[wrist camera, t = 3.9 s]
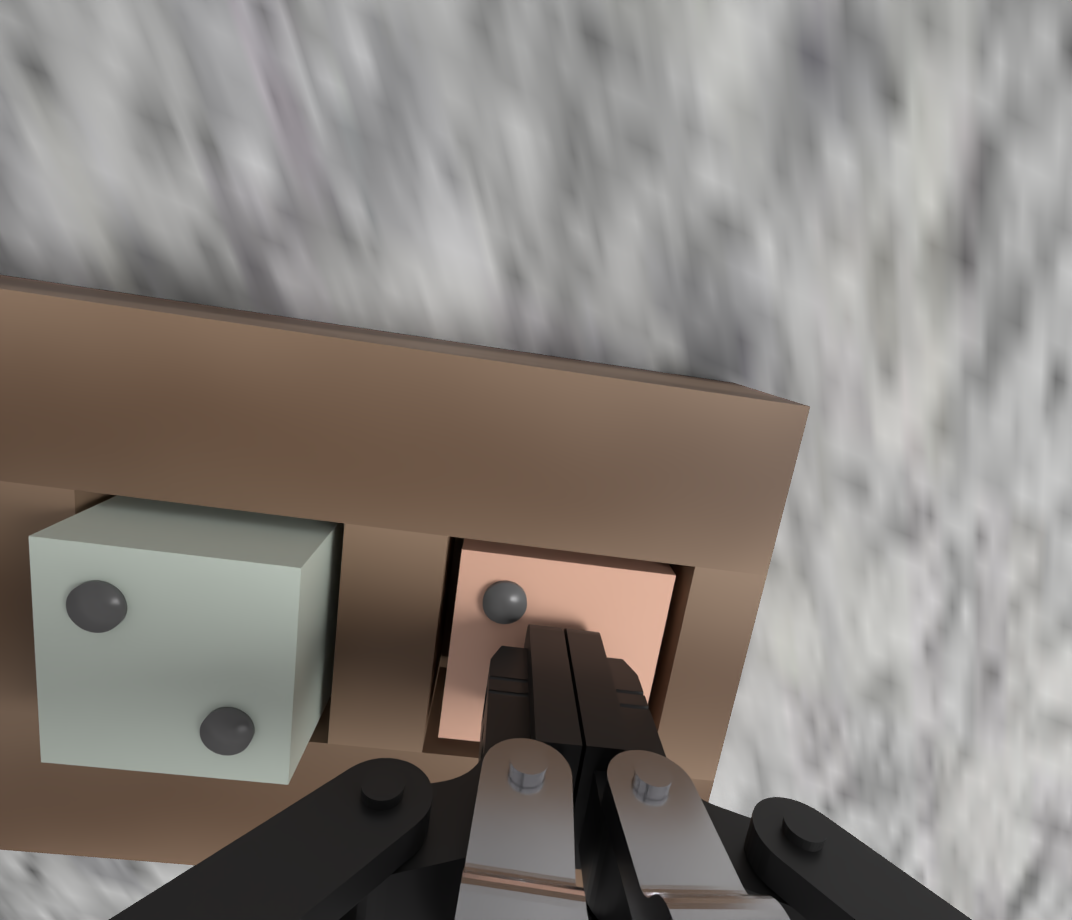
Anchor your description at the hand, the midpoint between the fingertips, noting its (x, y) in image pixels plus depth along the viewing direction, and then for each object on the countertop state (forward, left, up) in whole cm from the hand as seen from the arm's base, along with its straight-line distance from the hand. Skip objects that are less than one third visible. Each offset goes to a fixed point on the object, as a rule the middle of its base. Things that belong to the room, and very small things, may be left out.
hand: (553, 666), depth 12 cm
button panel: (0, -7, -4) cm, 8 cm away
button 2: (0, -7, -1) cm, 7 cm away
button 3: (0, 0, -3) cm, 3 cm away
